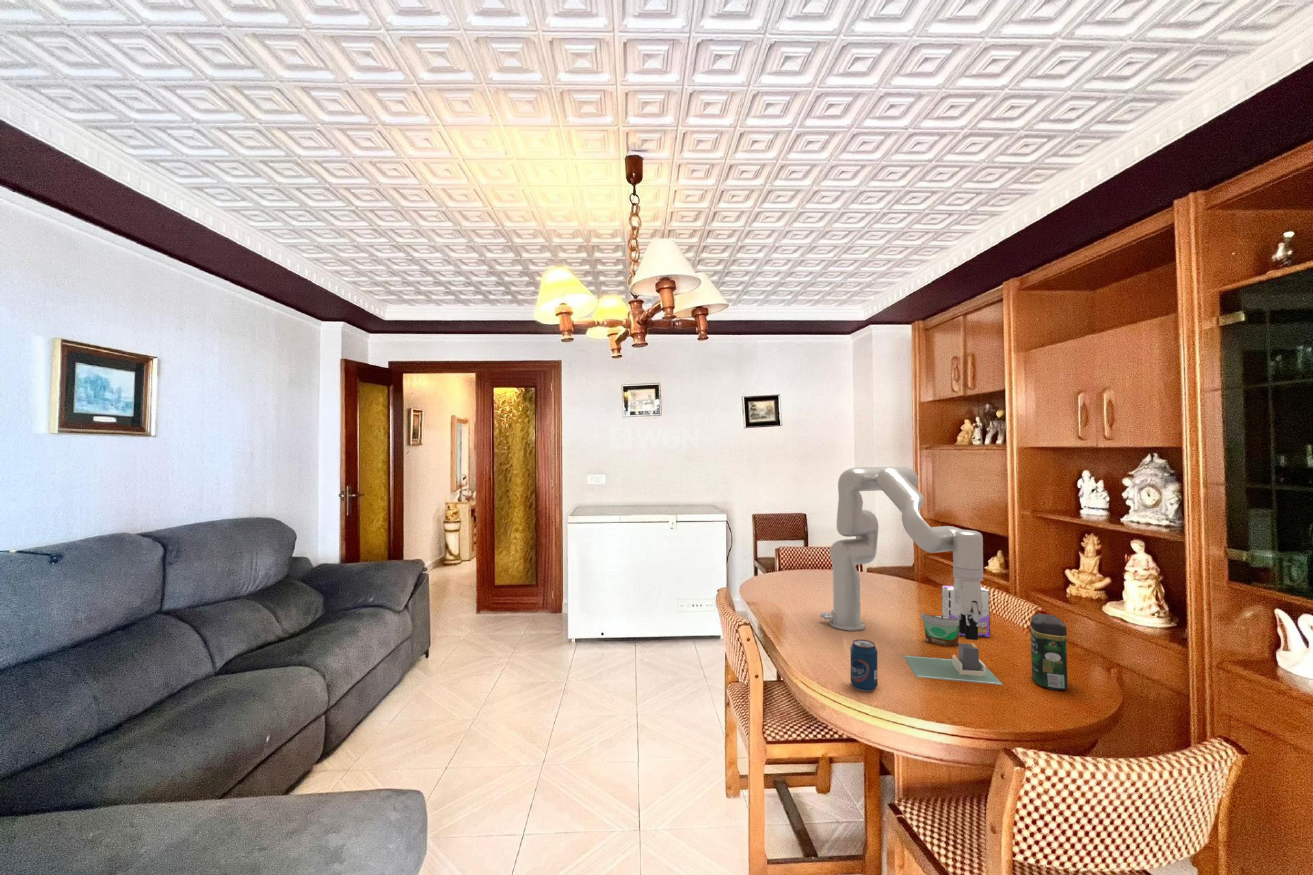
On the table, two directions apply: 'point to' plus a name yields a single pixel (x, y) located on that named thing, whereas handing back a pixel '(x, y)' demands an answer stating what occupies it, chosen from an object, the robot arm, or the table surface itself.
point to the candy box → (984, 621)
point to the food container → (941, 629)
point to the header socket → (958, 667)
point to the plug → (969, 656)
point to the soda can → (864, 665)
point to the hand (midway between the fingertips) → (968, 635)
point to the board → (945, 670)
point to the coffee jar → (1049, 651)
